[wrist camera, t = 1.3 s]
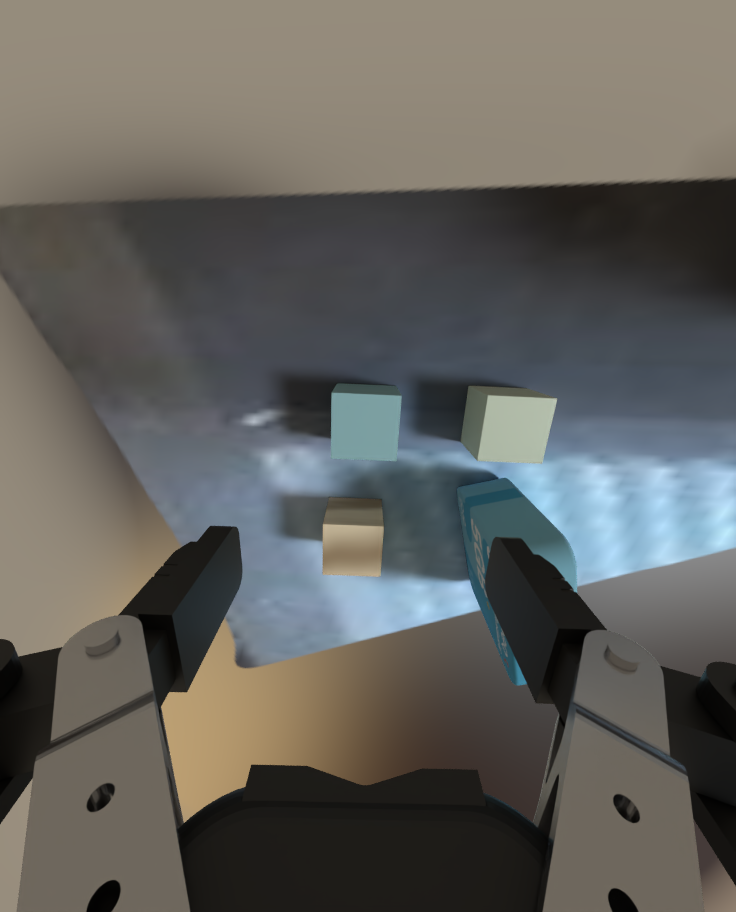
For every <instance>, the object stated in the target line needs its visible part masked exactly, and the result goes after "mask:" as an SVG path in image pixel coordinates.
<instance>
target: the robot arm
mask: <svg viewBox="0 0 736 912" xmlns="http://www.w3.org/2000/svg"><path fill="white" fill-rule="evenodd" d="M241 579H242V559H241V549H240V539H239V531H238V528H237V527H231V526H210V527H209V528H208V529H207V530H206V531H205V533H204V534H203V535H202V536H201V537H200V539H199V540H198V541H197V542H189V543H188V544H186V545H184V546H183V547H181V548H180V549H178V550H176V551H175V552H174V553H173V554H172V555H171V556H170V557H169V559H168V560H167V561H166V562H165V563H164V566H162V567H161V568H160V569H159V570H158V571H157V572H156V573H155V576H154V577H152V578H151V579H150V580H149V581H148V582H147V583H146V585H145V586H144V587H143V588H142V589H141V590H140V591H139V593H138V594H137V595H136V596H135V597H134V598H133V599H132V600H131V601H130V603H129V604H128V605H127V606H126V607H125V608H124V609H123V611H122V612H121V613H120V614H119V615H118V616H113V617H108V618H105V619H101V620H99V621H96V622H94V623H92V624H90V625H88V626H87V627H85V628H83V629H82V630H80V631H79V632H78V633H76V634H75V635H74V636H73V637H71V638H70V639H69V640H68V641H67V643H66V644H65V645H64V646H63V647H61V648H56V649H52V650H47V651H43V652H38V653H33V654H29V655H24V656H20V657H18V655H17V652H16V650H15V647H14V645H13V644H12V643H11V642H10V641H8V640H4V639H0V824H1V822H2V821H3V819H4V818H5V817H6V815H7V814H8V812H9V811H10V809H11V808H12V806H13V805H14V804H15V802H16V801H17V799H18V798H19V797H20V795H21V794H22V792H23V791H24V789H25V788H26V787H27V785H28V784H29V782H30V781H31V779H32V778H33V782H32V790H31V798H30V806H29V815H28V823H27V831H26V840H25V847H24V856H23V864H22V872H21V881H20V889H19V898H18V905H17V912H704V905H703V897H702V888H701V879H700V872H699V863H698V855H697V847H696V838H695V830H694V821H693V819H694V820H695V822H696V824H697V825H698V827H699V828H700V830H701V831H702V833H703V835H704V836H705V838H706V839H707V841H708V843H709V844H710V846H711V847H712V849H713V850H714V852H715V854H716V855H717V857H718V858H719V860H720V862H721V863H722V865H723V866H724V868H725V870H726V871H727V873H728V874H729V876H730V877H731V879H732V881H733V882H734V884H735V885H736V665H735V664H730V663H725V662H713V663H710V664H709V665H708V666H707V667H706V669H705V671H704V673H703V675H702V677H697V676H694V675H690V674H687V673H683V672H680V671H676V670H673V669H669V668H665V667H662V666H660V665H659V664H658V662H657V661H656V660H655V658H654V657H653V656H652V655H651V654H650V653H649V652H648V651H647V650H645V649H644V648H643V647H641V646H640V645H639V644H637V643H636V642H634V641H633V640H631V639H629V638H627V637H625V636H623V635H620V634H618V633H615V632H611V631H607V629H606V628H605V627H604V626H603V625H602V624H601V622H600V621H599V620H598V618H597V617H596V616H595V615H594V613H593V612H592V611H591V610H590V609H589V607H588V606H587V605H586V604H585V602H584V601H583V600H582V599H581V597H580V596H579V595H578V594H577V593H576V592H574V589H573V588H572V586H571V585H570V584H569V583H568V582H567V581H565V578H564V577H563V575H562V574H561V573H560V572H559V570H558V569H557V568H556V567H555V566H554V565H553V564H552V563H550V562H549V561H547V560H546V559H545V558H543V557H542V556H540V555H538V554H533V552H532V551H531V550H530V548H529V547H528V546H527V544H526V543H525V542H524V540H523V539H521V538H518V537H495V538H494V539H493V541H492V545H491V550H490V556H489V561H488V566H487V571H486V576H485V589H486V594H487V598H488V600H489V602H490V604H491V607H492V609H493V611H494V613H495V615H496V617H497V620H498V622H499V624H500V626H501V628H502V630H503V633H504V635H505V637H506V639H507V641H508V644H509V646H510V648H511V650H512V652H513V654H514V657H515V659H516V661H517V663H518V665H519V667H520V670H521V672H522V674H523V676H524V678H525V681H526V683H527V685H528V687H529V689H530V691H531V693H532V696H533V698H534V700H535V702H536V703H544V704H555V706H556V708H557V710H558V712H559V715H558V718H557V721H556V725H555V730H554V734H553V739H552V744H551V749H550V753H549V758H548V762H547V767H546V772H545V776H544V781H543V786H542V791H541V795H540V800H539V803H538V807H537V810H536V814H535V817H534V821H533V823H532V822H531V821H530V820H529V819H527V818H526V817H525V816H524V815H522V814H521V813H520V812H518V811H517V810H515V809H514V808H512V807H511V806H509V805H508V804H506V803H505V802H503V801H501V800H499V799H497V798H495V797H493V796H491V795H488V794H485V793H483V790H482V786H481V782H480V778H479V774H478V771H477V770H460V769H420V770H416V771H414V772H410V773H407V774H404V775H401V776H397V777H394V778H391V779H388V780H385V781H381V782H378V783H375V784H372V785H367V786H366V785H359V784H356V783H353V782H351V781H348V780H345V779H342V778H340V777H337V776H334V775H331V774H328V773H326V772H323V771H320V770H317V769H314V768H311V767H308V766H285V765H251V768H250V772H249V776H248V780H247V783H246V787H244V788H241V789H237V790H235V791H233V792H231V793H229V794H226V795H224V796H222V797H220V798H218V799H217V800H215V801H213V802H212V803H210V804H208V805H207V806H205V807H204V808H203V809H201V810H200V811H198V812H197V813H196V814H195V815H193V816H192V817H190V818H189V819H188V820H187V821H186V822H185V823H184V822H183V817H182V812H181V807H180V803H179V798H178V793H177V788H176V783H175V778H174V772H173V767H172V762H171V756H170V751H169V746H168V741H167V735H166V730H165V725H164V719H163V715H162V710H161V705H162V704H163V702H164V700H165V698H166V696H167V694H168V693H169V692H187V691H188V689H189V687H190V685H191V683H192V681H193V679H194V677H195V675H196V673H197V671H198V669H199V667H200V665H201V663H202V661H203V659H204V657H205V655H206V653H207V651H208V649H209V647H210V645H211V643H212V641H213V639H214V637H215V635H216V633H217V631H218V629H219V627H220V625H221V623H222V621H223V619H224V617H225V615H226V613H227V611H228V609H229V607H230V605H231V603H232V601H233V599H234V597H235V595H236V593H237V591H238V589H239V587H240V584H241Z"/></svg>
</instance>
